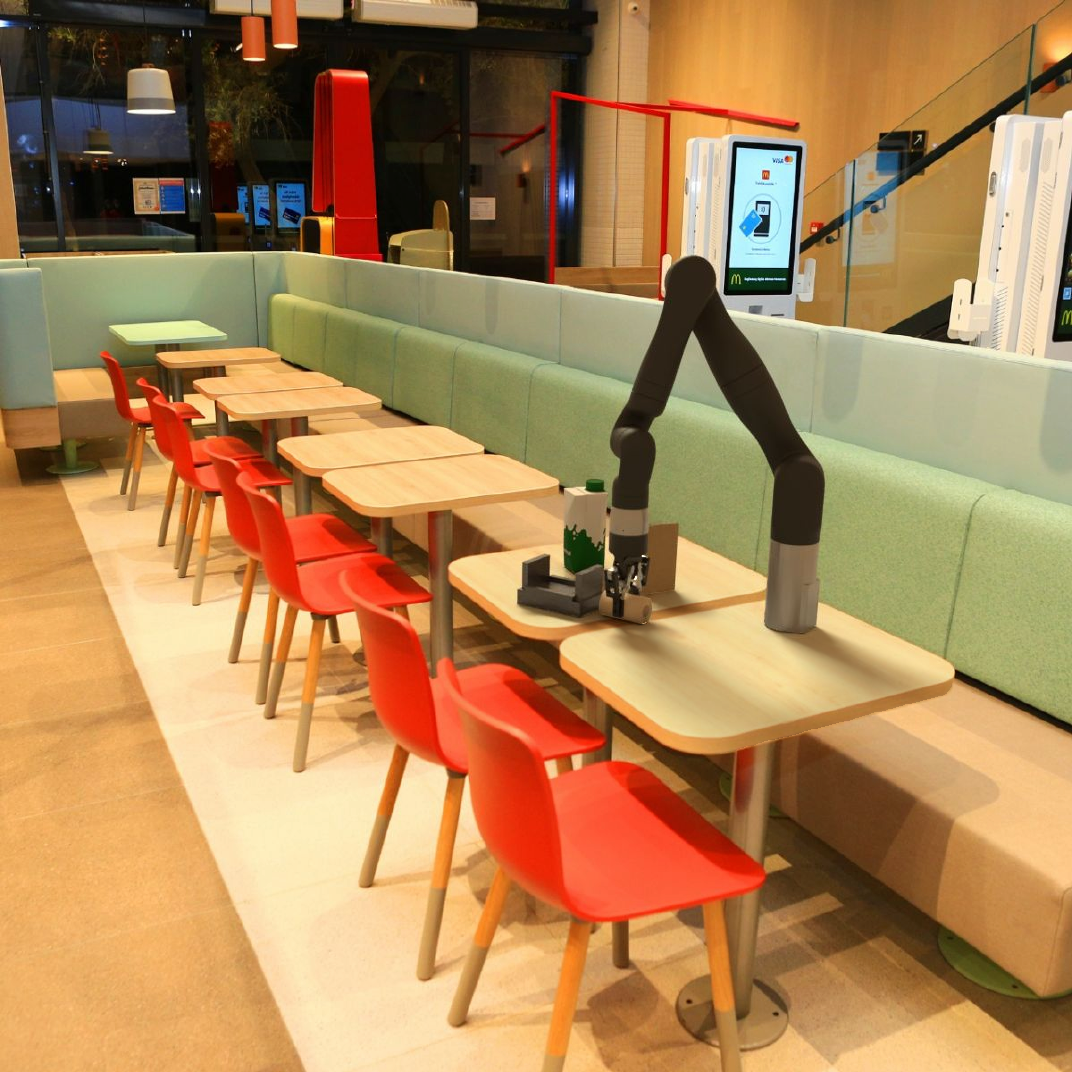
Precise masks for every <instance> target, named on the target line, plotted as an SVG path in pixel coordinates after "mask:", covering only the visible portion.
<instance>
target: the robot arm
mask: <svg viewBox="0 0 1072 1072" xmlns="http://www.w3.org/2000/svg"><path fill="white" fill-rule="evenodd" d="M713 266H714V265H712V264H711V262H710V261H709V260H708V259H706V258H705V257H702V256H701V255H697V254H694V255H693V254H689V255H685V256H682V257H679V258H678V259H676V260H675V261H674V262H673V263H671V265H670V266H669V267H668V270H667V271H666V273H665V275H664V280H663V283H664V285H663V286H664V287H663V288H664V291H665V294H664V299H663V305H662V309H661V314H660V317H659V320H658V323H657V326H656V329H655V332H654V334H653V337H652V339H651V341H650V343H649V346H648V348H647V350H646V351H645V355H644V357H643V359H642V362H641V363H640V366H639V370H637V371H638V372H637V373H636V374H637V375H636V376H635V379H634V383H633V385H632V388H631V391H630V394H629V397H628V400H627V402H626V404H625V405H624V407H623V409H622V410H621V412H620V414H619V415H618V417H617V419H616V420H615V423H614V425H613V427H612V430H611V434H610V438H609V446H610V447H609V448H610V449H611V450H610V451H611V452H612V454H613V455H614V456H615V457H617V458H618V459H619V466H618V468H619V469H618V475H617V476H615V477H614V479H613V481H612V485H611V508H610V513H609V530H608V552H609V553H610V554H611V555H612V556H613V562H612V567H611V568H604V572H603V578H604V580H603V581H604V591H606V597H610V598H612V599H613V605H612V615H613V616H614V617H618V618H622V617H623V616H624V597H625V593H628V594H633V595H637V596H640V594H639V592H640V591H641V590H642V586H646V583H647V576H648V570H649V563H650V557H648V556H644V555H645V554H646V553H647V552H648V533H649V525H650V512H649V498H650V497H649V495H650V483H651V479H652V475H653V472H654V471H653V470H654V468H655V463H656V458H657V457H656V455H657V449H656V446H657V445H656V441H655V438H654V436H653V434H652V433H651V432H649V430H650V429H651V426H652V424H653V423H654V420H655V419H656V418H659V417H661V416H662V415H663V413H664V411H665V409H666V407H667V403H668V401H669V399H670V396H671V393H672V391H673V387H674V384H675V382H676V378H677V375H678V372H679V369H680V366H681V362H682V359H683V356H684V354H685V353H684V352H685V351H686V350H685V349H686V348H687V344H688V343H689V340H690V337H691V335H692V333H693V334H694V336H695V338H696V340H697V342H698V344H699V347H700V349H701V352H702V354H703V356H704V358H705V360H706V363H707V365H708V368H709V369H710V372H711V373H712V374H711V375H712V376H713V378H714V379H715V383H716V384H717V386H718V387H719V389H720V391H721V393H722V395H723V396H724V398H725V400H726V401H727V403H728V405H729V407H730V409H732V411H733V412H734V414H735V416H736V417H737V418H738V419H739V420H740V422H741V423H742V424H743V426H744V427H745V428H746V429H747V430H748V432H750V434H751V435H752V436H753V438H754V439H755V440H756V442H757V443H758V445H759V446H760V448H761V450H762V452H763V454H764V456H765V459H766V461H767V463H768V466H769V468H770V470H771V473H772V475H773V478H774V479H773V487H772V488H773V489H772V504H771V505H772V506H771V517H770V530H769V531H770V532H769V547H768V548H769V550H768V559H767V561H768V563H767V574H766V575H767V576H766V577H767V578H766V587H765V603H764V613H763V614H764V619H763V623H765V624H766V625H765V624H764V625H765V627H767V626H768V627H767V628H769V629H771V628H772V630H774V629H777V630H776V631H778V630H780V631H779V632H783V631H786V632H785V633H799V632H801V633H800V634H806V633H808V632H809V631H810V630H812V629H813V628H814V626H815V625H816V626H817V620H818V609H819V599H820V598H819V596H820V589H821V588H820V586H821V579H820V578H819V577H817V576H818V565H819V564H818V563H819V553H820V541H821V531H822V525H823V524H822V523H823V514H824V499H825V491H826V490H825V489H826V480H825V473H824V469H823V467H822V464H821V463H820V461H818V459H817V458H816V456H815V455H814V453H813V452H812V451H811V450H810V448H809V447H808V446H807V444H806V443H805V441H804V440H803V438H802V437H801V435H800V433H799V432H798V431H797V429H796V427H795V426H794V423H793V421H792V420H791V418H790V415H789V413H788V410H787V408H786V405H785V403H784V401H783V397H782V395H781V394H780V391H779V389H778V387H777V386H776V383H775V381H774V379H773V377H772V375H771V373H770V372H769V370H768V368H767V367H766V364H765V363H764V361H763V360H762V357H761V356H760V354H759V353H758V352H757V350H756V348H755V347H754V345H752V343H751V342H750V341H749V339H748V338H747V336H746V335H745V334H744V333H743V332H742V331H741V329H740V328H739V327H738V326H737V324H736V323H735V322H734V321H733V319H732V317H731V316H730V314H729V312H728V310H727V308H726V306H725V304H724V302H723V300H722V298H721V295H720V293H719V290H718V289H717V274H716V270H715V268H714V267H713ZM642 574H643V577H642ZM619 581H624V583H621V582H619ZM627 589H628V590H627ZM611 590H612V591H611ZM614 617H613V618H614ZM618 618H617V619H618ZM816 626H815V627H816ZM812 627H813V628H812ZM811 628H812V629H811ZM809 629H810V630H809ZM808 630H809V631H808ZM807 631H808V632H807Z"/></svg>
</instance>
